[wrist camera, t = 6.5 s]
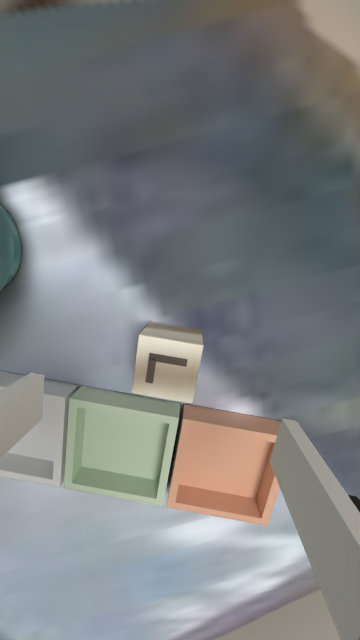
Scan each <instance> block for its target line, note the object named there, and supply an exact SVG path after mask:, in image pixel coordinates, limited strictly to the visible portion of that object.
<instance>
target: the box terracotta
mask: <svg viewBox="0 0 360 640" xmlns="http://www.w3.org/2000/svg"><path fill="white" fill-rule="evenodd" d="M280 424H281V421H279V420H273V419H268V418H262V417H256V416H251V415H245V414H239V413H234V412H228V411H222V410H217V409H211V408H206V407H200V406H194V405H189V404H184V407H183V413H182V418H181V423H180V429H179V434H178V440H177V445H176V450H175V456H174V461H173V466H172V472H171V477H170V483H169V490H168V499H167V507H169V508H174V509H179V510H185V511H190V512H195V513H201V514H206V515H211V516H217V517H222V518H228V519H233V520H238V521H244V522H249V523H254V524H260V525H265V526H268V523H269V519H270V516H271V513H272V510H273V507H274V504H275V500H276V497H277V494H278V491H279V488H280V486H279V484H278V481H277V479H276V476H275V474H274V471H273V469H272V466H271V464H270V458H271V455H272V452H273V448H274V445H275V441H276V438H277V434H278V431H279V428H280Z"/></svg>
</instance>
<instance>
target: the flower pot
mask: <svg viewBox="0 0 360 640" xmlns="http://www.w3.org/2000/svg"><path fill="white" fill-rule="evenodd" d="M20 260H21V242H20V237H19V234H18V231H17V228H16V226H15V224H14V222H13V220H12V218H11V217H10V215H9V214H8V212H7V211H6V210H5V209H4V208H3V207H2V206H1V205H0V291H1V290H2V288H3V287H5V286H6V285H7V284H8V283H9V282H10V281H11V280H12V279H13V277H14V276H15V274H16V272H17V270H18V268H19V265H20Z"/></svg>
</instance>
